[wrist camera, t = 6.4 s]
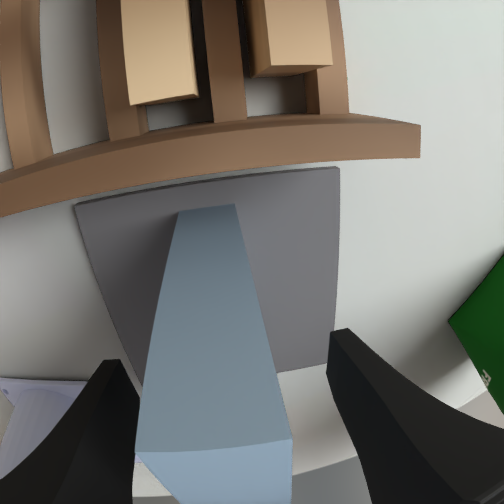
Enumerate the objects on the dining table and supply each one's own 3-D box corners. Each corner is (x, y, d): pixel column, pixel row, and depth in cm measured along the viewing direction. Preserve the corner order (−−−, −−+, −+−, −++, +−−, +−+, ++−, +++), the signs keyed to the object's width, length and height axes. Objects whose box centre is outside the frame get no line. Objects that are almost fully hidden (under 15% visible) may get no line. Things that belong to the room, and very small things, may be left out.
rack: (342, 132, 11) (420, 158, 7) (-26, 201, 10) (-96, 250, 5) (313, -93, 6) (359, -154, 2) (-42, 0, 5) (-109, -10, 1)
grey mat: (328, 357, 16) (330, 362, 16) (143, 382, 15) (142, 387, 15) (335, 166, 12) (339, 168, 11) (77, 203, 11) (74, 206, 11)
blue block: (254, 362, 15) (289, 539, 7) (213, 367, 15) (228, 546, 7) (234, 203, 11) (293, 438, 3) (179, 211, 11) (134, 452, 3)
